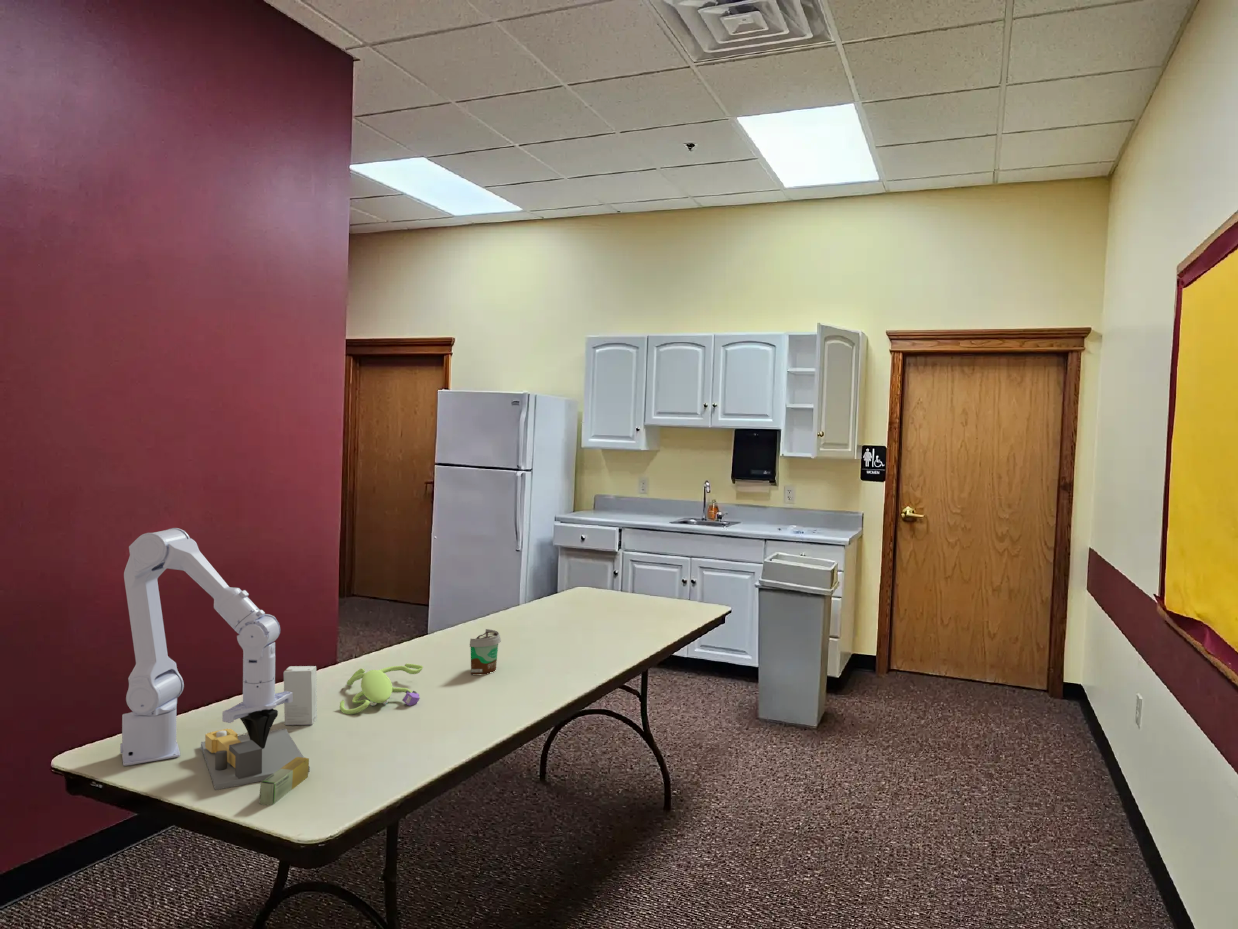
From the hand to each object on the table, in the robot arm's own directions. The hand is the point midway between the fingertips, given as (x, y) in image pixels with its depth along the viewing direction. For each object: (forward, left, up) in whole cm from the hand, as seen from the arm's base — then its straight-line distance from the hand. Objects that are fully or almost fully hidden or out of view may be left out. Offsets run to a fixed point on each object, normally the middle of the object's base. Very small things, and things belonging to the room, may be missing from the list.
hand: (258, 748), depth 159 cm
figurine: (+32, +27, -3) cm, 42 cm away
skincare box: (+11, +16, -2) cm, 20 cm away
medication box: (+2, -17, -2) cm, 18 cm away
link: (-5, 0, 0) cm, 5 cm away
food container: (+63, +33, -2) cm, 71 cm away
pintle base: (-1, 0, -2) cm, 2 cm away
